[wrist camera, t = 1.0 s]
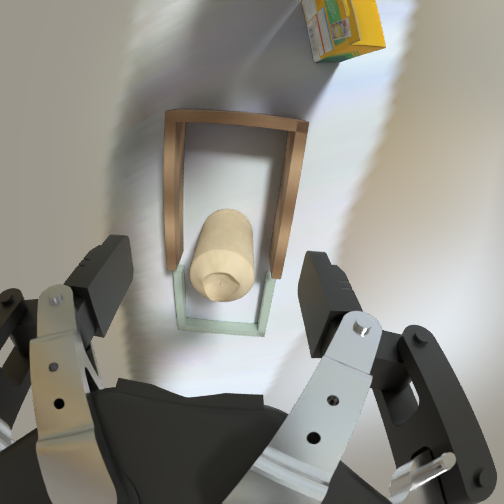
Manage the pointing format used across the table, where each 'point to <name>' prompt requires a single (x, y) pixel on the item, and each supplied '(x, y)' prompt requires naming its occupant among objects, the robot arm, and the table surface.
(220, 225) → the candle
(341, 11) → the crayon box
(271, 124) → the cubby
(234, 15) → the table surface
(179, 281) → the mint green u-bracket
